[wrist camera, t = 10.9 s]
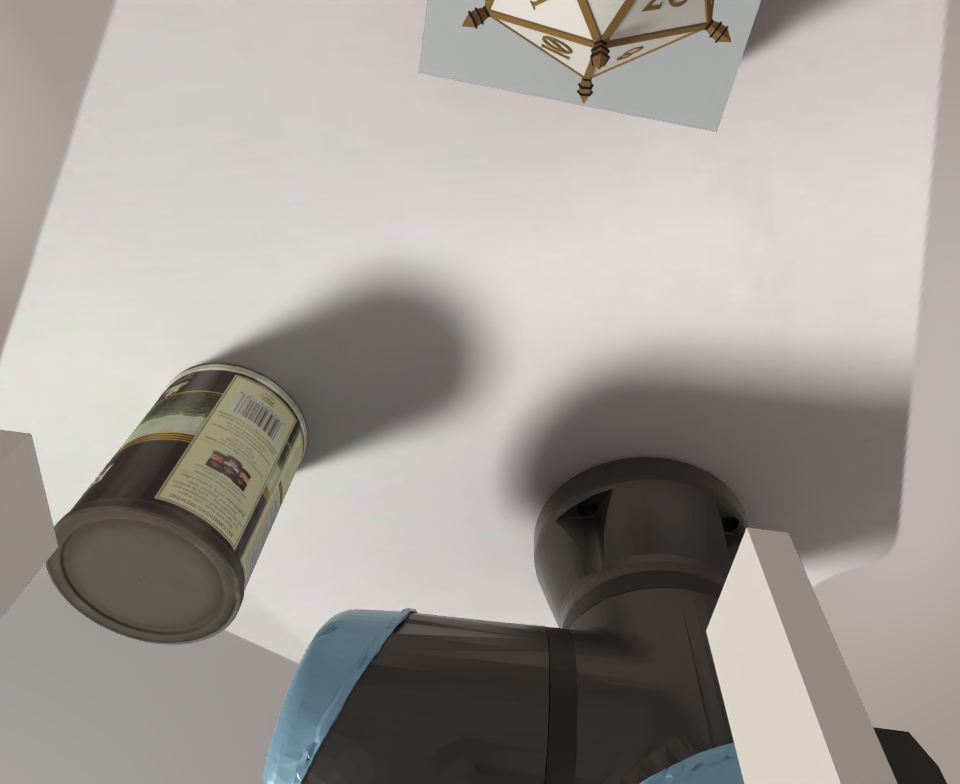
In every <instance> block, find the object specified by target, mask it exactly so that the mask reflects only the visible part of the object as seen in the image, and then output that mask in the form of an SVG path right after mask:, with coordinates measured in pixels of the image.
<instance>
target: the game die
mask: <svg viewBox="0 0 960 784" xmlns="http://www.w3.org/2000/svg"><path fill="white" fill-rule="evenodd" d="M713 7H714V0H485V6H484V7H482V8H477V7H475V10H473V11H471V12H470V11H468V15H467V17H466V19H465V21H464V22H463V24H462V27H474V28H476V29H477V26H479V25H480V24H482V25H483V24H484V21H485V20H486V19H487V18H489V17H491V18H493V19H494V20H496V21H497V22H499V23H500V24H502V25H503V26H505V27H506V28H508V29H509V30H511V31H512V32H514V33H516V34H517V35H519V36H520V37H522V38H523V39H525V40H526V41H528V42H529V43H531V44H532V45H534V46H535V47H537V48H538V49H540V50H541V51H543V52H544V53H546V54H547V55H549V56H550V57H552V58H553V59H555V60H556V61H558V62H559V63H561V64H562V65H564V66H565V67H567V68H568V69H570V70H571V71H573V72H574V73H576V74H577V75H579V76H580V77H582V80H581V82H580V83H578V86H579V90H577V93H578V94H579V95H580V97H581V99H582V102H583V104H584V103H585V101H586V100H587V99H588V97H589V96H591V95H592V93H593V91H592V87H593V86H594V84H592V80H591V79H592V78H594V77H596V76H598V75H601V74H603V73H605V72H608V71H610V70H612V69H614V68H617V67H619V66H621V65H624V64H626V63H628V62H631V61H633V60H635V59H637V58H640V57H642V56H644V55H647V54H649V53H651V52H654V51H656V50H658V49H660V48H663V47H665V46H667V45H670V44H672V43H674V42H677V41H679V40H681V39H683V38H686V37H688V36H690V35H693V34H695V33H697V32H700V31H702V30H706V31H707V32H708V33H709V35H710V36H709V38H711V37H712V38H713V39H714V40H715V43H717V42H731V38H730V35H729V31H728V27H729V26H724V25H723V24H722V22H720V23H719V22H716V21H714V20H713V19H712V16H713Z"/></svg>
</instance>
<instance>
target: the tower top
mask: <svg viewBox="0 0 960 784" xmlns="http://www.w3.org/2000/svg"><path fill="white" fill-rule="evenodd" d="M760 2H761V0H714V7H713V16H712V19H713V20H714V21H716V22H719V23H720V22H722V24H723V25H724V26H729V27H728V31H729V35H730V38H731V42H717V43H715V40H714V39H713V38H712V37H711V38H709V36H710V35H709V33H708V32H707V31H706V30H702V31H700V32H697V33H695V34H693V35H690V36H688V37H686V38H683V39H681V40H679V41H677V42H674V43H672V44H670V45H667V46H665V47H663V48H660V49H658V50H656V51H654V52H651V53H649V54H647V55H644V56H642V57H640V58H637V59H635V60H633V61H631V62H628V63H626V64H624V65H621V66H619V67H617V68H614V69H612V70H610V71H608V72H605V73H603V74H601V75H598V76H596V77H594V78H592V79H591V80H592V84H594V86H593V87H592V91H593V93H592V95H591V96H589V97H588V99H587V100H586V101H585V103H584V104H583V102H582V99H581V97H580V95H579V94H578V93H577V90H579V86H578V83H580V82H581V80H582V77H580V76H579V75H577V74H576V73H574V72H573V71H571V70H570V69H568V68H567V67H565V66H564V65H562V64H561V63H559V62H558V61H556V60H555V59H553V58H552V57H550V56H549V55H547V54H546V53H544V52H543V51H541V50H540V49H538V48H537V47H535V46H534V45H532V44H531V43H529V42H528V41H526V40H525V39H523V38H522V37H520V36H519V35H517V34H516V33H514V32H512V31H511V30H509V29H508V28H506V27H505V26H503V25H502V24H500V23H499V22H497V21H496V20H494V19H493V18H491V17H489V18H487V19H486V20H485V21H484V24H483V25H482V24H480V25H479V26H477V29H476V28H474V27H462V24H463V22H464V21H465V19H466V17H467V15H468V11H470V12H471V11H473V10H475V7H477V8H482V7H484V6H485V0H427V7H426V15H425V24H424V32H423V40H422V49H421V57H420V65H419V73H422V74H427V75H432V76H437V77H442V78H447V79H452V80H457V81H462V82H467V83H472V84H477V85H482V86H487V87H492V88H497V89H502V90H507V91H512V92H518V93H523V94H528V95H533V96H538V97H543V98H548V99H553V100H558V101H563V102H568V103H573V104H578V105H583V106H588V107H593V108H598V109H603V110H608V111H613V112H618V113H623V114H628V115H633V116H638V117H643V118H648V119H653V120H658V121H663V122H669V123H674V124H679V125H684V126H689V127H694V128H699V129H704V130H709V131H714V132H717V129H718V127H719V124H720V121H721V118H722V115H723V112H724V109H725V106H726V103H727V100H728V97H729V94H730V91H731V88H732V85H733V82H734V79H735V76H736V73H737V70H738V67H739V64H740V61H741V59H742V56H743V53H744V50H745V47H746V44H747V41H748V38H749V35H750V32H751V29H752V26H753V23H754V20H755V17H756V14H757V11H758V8H759V5H760Z"/></svg>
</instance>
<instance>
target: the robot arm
mask: <svg viewBox="0 0 960 784" xmlns="http://www.w3.org/2000/svg"><path fill="white" fill-rule="evenodd" d="M57 548H58V543H57V539H56V535H55V530H54V526H53V522H52V518H51V514H50V510H49V506H48V501H47V497H46V493H45V489H44V485H43V481H42V476H41V472H40V468H39V464H38V460H37V456H36V451H35V447H34V443H33V439H32V435H31V434H29V433H21V432H13V431H6V430H0V619H1V617H3V615H4V614H5V613H6V612H7V610H8V609H9V608H10V606H11V605H12V604H13V603H14V602H15V600H16V599H17V598H18V596H19V595H20V594H21V593H22V591H23V590H24V589H25V588H26V587H27V585H28V584H29V583H30V582H31V580H32V579H33V578H34V577H35V575H36V574H37V572H39V570H40V569H41V568H42V567H43V565H44V564H45V563H46V562H47V560H48V559H49V558H50V557H51V555H52V554H53V553H54V552H55V550H56V549H57ZM534 563H535V569H536V574H537V578H538V581H539V583H540V586H541V588H542V590H543V593H544V595H545V597H546V599H547V602H548V604H549V606H550V608H551V611H552V613H553V615H554V617H555V620H556V622H557V624H558V626H559V628H552V627H545V626H537V625H526V624H514V623H503V622H492V621H483V620H474V619H465V618H456V617H447V616H437V615H428V614H419V613H417V612H416V609H410V608H406V609H404V610H402V611H381V610H359V609H355V610H348V611H344V612H341V613H339V614H337V615H335V616H334V617H332V618H331V619H330V620H328V621H327V622H326V623H325V624H324V625H323V626H322V627H321V629H320V630H319V631H318V632H317V634H316V635H315V637H314V638H313V640H312V642H311V643H310V645H309V646H308V648H307V650H306V652H305V654H304V656H303V658H302V660H301V661H300V664H299V666H298V668H297V670H296V672H295V675H294V677H293V679H292V682H291V684H290V687H289V689H288V692H287V695H286V697H285V700H284V703H283V705H282V708H281V711H280V714H279V717H278V720H277V723H276V727H275V731H274V734H273V737H272V741H271V744H270V748H269V751H268V755H267V759H266V763H265V768H264V775H263V782H264V784H947V783H946V781H945V779H944V777H943V775H942V773H941V771H940V769H939V767H938V766H937V764H936V763H935V762H934V761H933V760H932V759H931V757H930V756H929V755H928V754H927V753H926V752H925V750H924V749H923V748H922V747H921V746H920V745H919V744H918V742H917V741H916V740H915V739H914V738H913V737H912V735H911V734H910V733H909V732H904V731H897V730H889V729H881V728H874V727H873V726H872V724H871V722H870V719H869V717H868V715H867V712H866V710H865V708H864V706H863V703H862V701H861V698H860V696H859V694H858V692H857V689H856V687H855V685H854V682H853V680H852V678H851V676H850V673H849V671H848V669H847V666H846V664H845V662H844V659H843V657H842V655H841V652H840V650H839V648H838V646H837V643H836V641H835V639H834V636H833V634H832V632H831V629H830V627H829V625H828V623H827V620H826V618H825V616H824V614H823V611H822V609H821V607H820V604H819V602H818V600H817V597H816V595H815V593H814V590H813V588H812V586H811V583H810V581H809V579H808V577H807V574H806V572H805V570H804V567H803V565H802V563H801V560H800V558H799V556H798V554H797V551H796V549H795V547H794V544H793V542H792V540H791V537H790V535H789V533H786V532H779V531H771V530H763V529H756V528H749V526H748V524H747V521H746V518H745V515H744V512H743V510H742V507H741V505H740V503H739V502H738V500H737V499H736V497H735V496H734V494H733V493H732V492H731V491H730V490H729V489H728V488H727V487H726V486H725V485H724V484H723V483H722V482H721V481H719V480H718V479H716V478H715V477H713V476H712V475H710V474H709V473H707V472H705V471H703V470H701V469H698V468H696V467H694V466H691V465H688V464H685V463H681V462H677V461H672V460H666V459H657V458H635V459H626V460H619V461H615V462H610V463H607V464H603V465H600V466H597V467H595V468H592V469H590V470H587V471H585V472H583V473H581V474H580V475H578V476H576V477H574V478H573V479H571V480H570V481H568V482H567V483H566V484H564V485H563V486H562V487H561V488H560V489H559V490H557V491H556V492H555V493H554V495H553V496H552V497H551V498H550V499H549V500H548V502H547V503H546V505H545V506H544V508H543V509H542V511H541V513H540V515H539V518H538V521H537V524H536V528H535V534H534Z"/></svg>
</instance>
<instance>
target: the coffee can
mask: <svg viewBox="0 0 960 784" xmlns="http://www.w3.org/2000/svg"><path fill="white" fill-rule="evenodd" d="M306 449H307V429H306V425H305V421H304V419H303V416H302V414H301V412H300V410H299V408H298V407H297V405H296V404H295V402H294V401H293V400H292V399H291V398H290V397H289V396H288V395H287V394H286V393H285V392H284V391H283V390H282V389H281V388H280V387H279V386H278V385H276V384H275V383H274V382H272V381H271V380H269V379H268V378H266V377H264V376H262V375H260V374H258V373H256V372H253V371H251V370H248V369H245V368H243V367H238V366H231V365H226V364H209V365H202V366H197V367H194V368H191V369H189V370H186V371H184V372H182V373H181V374H179V375H178V376H176V377H175V378H174V379H173V380H172V381H171V382H170V383H169V384H168V385H167V387H166V389H165V390H164V392H163V394H162V395H161V396H160V398H159V399H158V401H157V402H156V403H155V404H154V406H153V407H152V408H151V410H150V411H149V412H148V413H147V415H146V416H145V417H144V419H143V420H142V421H141V422H140V424H139V425H138V426H137V428H136V429H135V430H134V431H133V433H132V434H131V435H130V437H129V438H128V439H127V440H126V442H125V443H124V444H123V445H122V447H121V448H120V449H119V450H118V452H117V453H116V454H115V455H114V457H113V458H112V459H111V461H110V462H109V463H108V464H107V465H106V467H105V468H104V469H103V470H102V472H101V473H100V474H99V476H98V477H97V478H96V479H95V481H94V482H93V483H92V484H91V485H90V487H89V488H88V489H87V491H86V492H85V493H84V494H83V496H82V497H81V498H80V500H79V501H78V502H77V503H76V505H75V506H74V507H73V508H72V510H71V511H70V512H69V513H67V514H66V515H65V516H64V517H63V518H62V519H61V520H60V521H59V522H58V523H57V524H56V525H55V527H54V530H55V535H56V539H57V543H58V548H57V549H56V550H55V552H54V553H53V554H52V555H51V557H50V558H49V559H48V560H47V562H46V567H47V570H48V573H49V575H50V577H51V579H52V581H53V583H54V585H55V586H56V588H57V589H58V590H59V592H60V593H61V594H62V595H63V597H64V598H65V599H66V600H67V601H68V602H69V603H70V604H71V605H72V606H73V607H74V608H76V609H77V610H78V611H79V612H80V613H82V614H83V615H85V616H86V617H87V618H89V619H90V620H92V621H93V622H95V623H97V624H99V625H100V626H102V627H104V628H106V629H108V630H111V631H113V632H115V633H117V634H120V635H124V636H126V637H129V638H133V639H136V640H140V641H145V642H150V643H157V644H188V643H194V642H198V641H202V640H205V639H208V638H210V637H213V636H215V635H216V634H218V633H220V632H221V631H223V630H224V629H225V628H227V627H228V626H229V625H230V623H231V622H232V621H233V620H234V618H235V617H236V615H237V613H238V611H239V608H240V606H241V603H242V600H243V596H244V590H245V588H246V586H247V583H248V581H249V579H250V576H251V574H252V572H253V569H254V567H255V565H256V562H257V560H258V558H259V555H260V553H261V551H262V548H263V546H264V544H265V541H266V539H267V537H268V534H269V532H270V530H271V528H272V525H273V523H274V520H275V518H276V516H277V514H278V511H279V509H280V507H281V504H282V502H283V500H284V498H285V495H286V493H287V491H288V488H289V486H290V484H291V481H292V479H293V477H294V474H295V472H296V470H297V467H298V466H299V464H300V463H301V461H302V459H303V457H304V454H305V451H306Z"/></svg>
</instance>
